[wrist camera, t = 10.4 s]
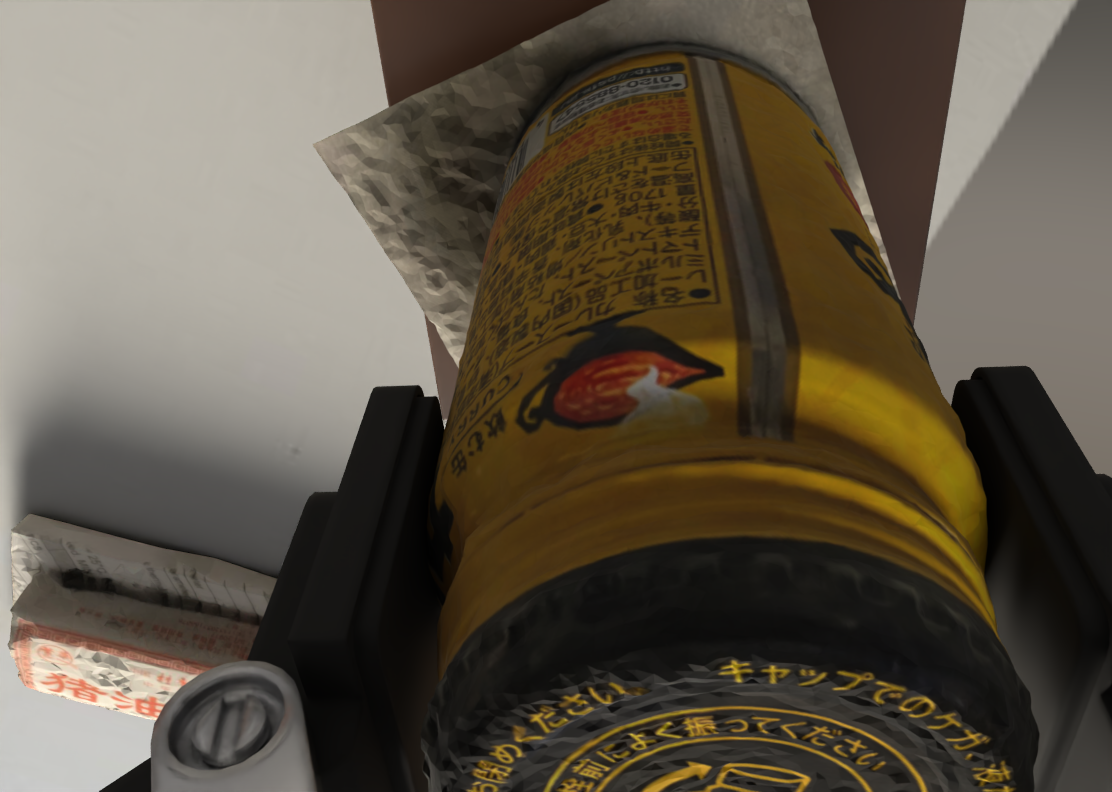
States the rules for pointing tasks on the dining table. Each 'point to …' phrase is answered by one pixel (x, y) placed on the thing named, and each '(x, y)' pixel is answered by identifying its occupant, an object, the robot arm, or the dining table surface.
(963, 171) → the dining table surface
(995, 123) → the dining table surface
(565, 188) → the condiment
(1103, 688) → the robot arm
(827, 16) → the stand
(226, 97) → the dining table surface
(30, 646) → the packaged product
